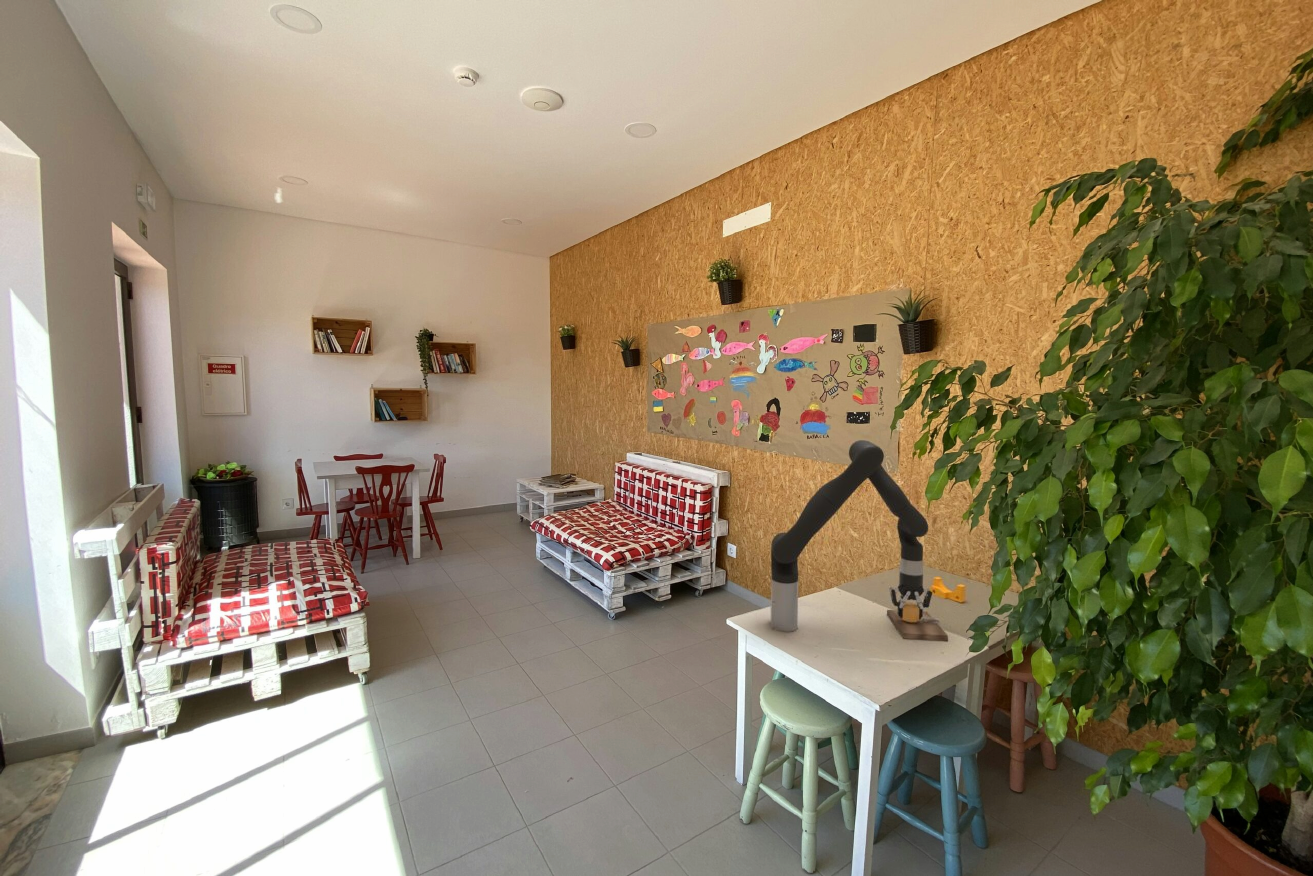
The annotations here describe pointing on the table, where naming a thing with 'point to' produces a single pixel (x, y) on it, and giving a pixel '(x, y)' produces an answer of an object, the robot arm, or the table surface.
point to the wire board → (918, 627)
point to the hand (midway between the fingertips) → (909, 617)
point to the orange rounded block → (910, 612)
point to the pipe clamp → (948, 591)
